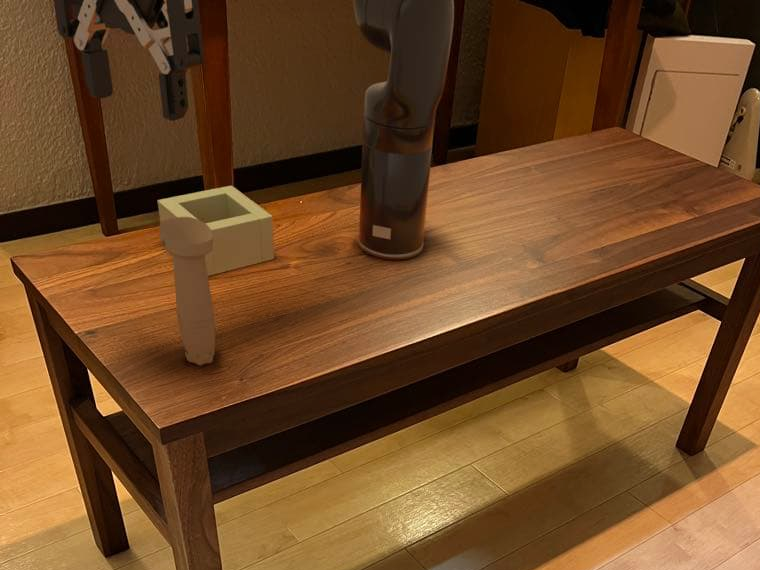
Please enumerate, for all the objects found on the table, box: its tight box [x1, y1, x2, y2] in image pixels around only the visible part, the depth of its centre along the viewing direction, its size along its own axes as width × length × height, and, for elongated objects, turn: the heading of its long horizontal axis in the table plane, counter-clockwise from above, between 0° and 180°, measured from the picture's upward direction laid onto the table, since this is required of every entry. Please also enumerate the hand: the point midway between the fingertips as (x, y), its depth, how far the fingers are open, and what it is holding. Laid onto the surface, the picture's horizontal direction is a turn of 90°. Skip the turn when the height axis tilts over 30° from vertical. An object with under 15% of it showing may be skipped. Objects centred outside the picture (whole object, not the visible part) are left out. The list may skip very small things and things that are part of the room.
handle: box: [158, 217, 216, 366], centre depth 86 cm, size 5×6×15 cm
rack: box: [157, 185, 275, 277], centre depth 107 cm, size 11×11×6 cm
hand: (137, 107), depth 72 cm, fingers open, 8 cm apart
